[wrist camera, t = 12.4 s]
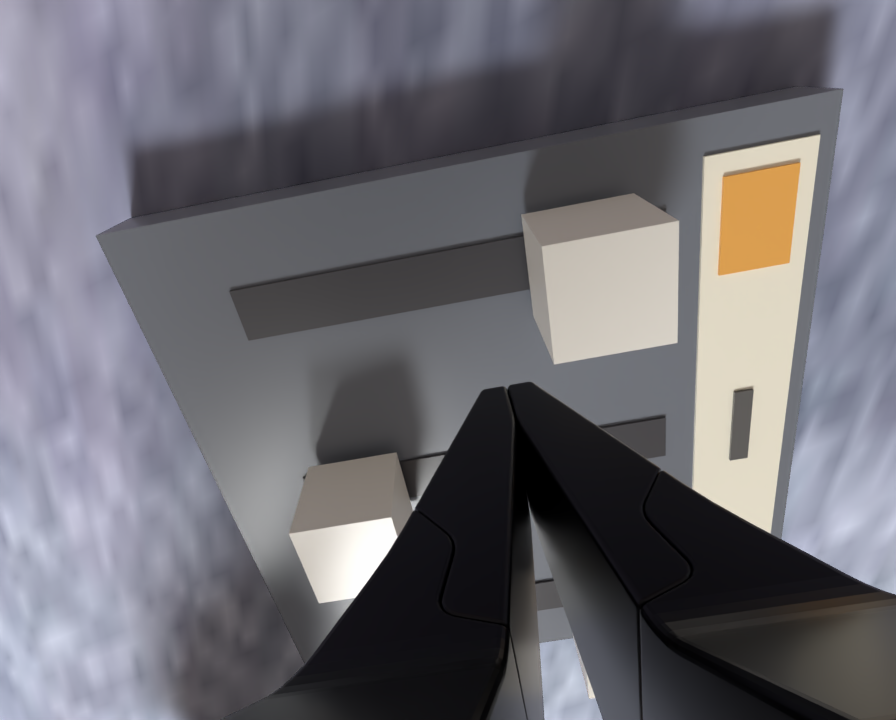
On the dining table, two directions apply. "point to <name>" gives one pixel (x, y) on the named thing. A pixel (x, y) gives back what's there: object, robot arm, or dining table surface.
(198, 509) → the dining table surface
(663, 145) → the switch panel
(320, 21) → the dining table surface
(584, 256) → the tab
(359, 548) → the tab
